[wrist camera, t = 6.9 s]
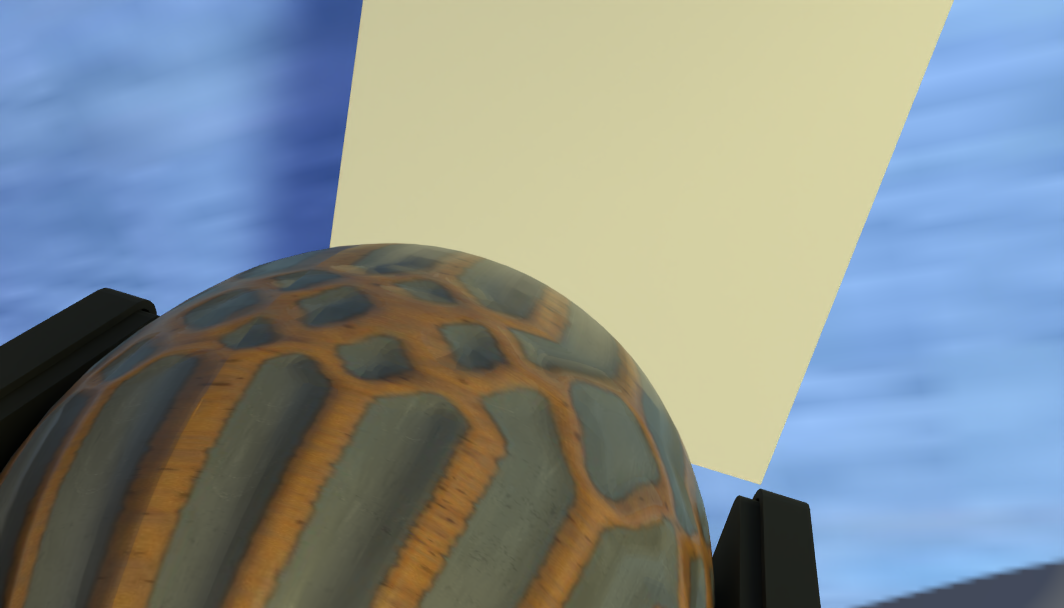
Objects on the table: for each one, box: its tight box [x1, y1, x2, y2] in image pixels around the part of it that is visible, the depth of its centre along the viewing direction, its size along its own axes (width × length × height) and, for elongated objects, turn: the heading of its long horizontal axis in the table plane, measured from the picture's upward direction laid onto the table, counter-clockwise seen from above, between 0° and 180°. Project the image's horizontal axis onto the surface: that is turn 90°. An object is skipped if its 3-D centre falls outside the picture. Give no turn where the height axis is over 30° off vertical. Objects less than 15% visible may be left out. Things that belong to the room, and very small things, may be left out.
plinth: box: [330, 0, 954, 485], centre depth 25 cm, size 13×13×4 cm
